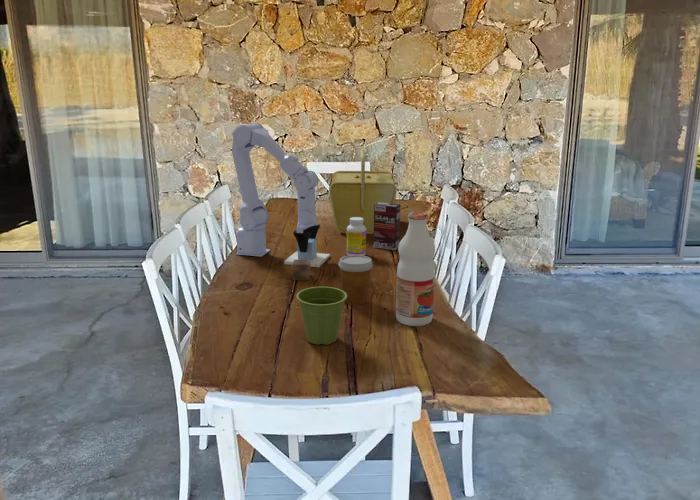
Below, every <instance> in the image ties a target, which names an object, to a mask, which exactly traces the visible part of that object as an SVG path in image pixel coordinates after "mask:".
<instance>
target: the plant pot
mask: <svg viewBox="0 0 700 500" xmlns="http://www.w3.org/2000/svg"><path fill="white" fill-rule="evenodd" d="M346 298H347V294H346V292H344V291H343V289H342V288H341V289H340V288H338V287H337V288H336V287H332V286H312V287H311V286H310V287H308V288H304V289H302V290H299V291H298V292H297V293H296V299H297V301H299V307H300V310H301V314H302V320H303V326H304V329H305V330H304V331H305V337H306V340H307V341H308V342H309V343H310V344H312V345H313V344H314V345H324V346H325V345H327V346H328V345H330V344H333V343H335V342H337V339H338V336H339V330H340V324H341V319H342V313H343V309H344V306H345V305H344V304H345V302H344V301H345V300H346Z"/></svg>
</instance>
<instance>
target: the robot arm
mask: <svg viewBox="0 0 700 500" xmlns="http://www.w3.org/2000/svg"><path fill="white" fill-rule="evenodd" d="M231 135H232V138H233V139H232V145H231V146H232V147H231V155H232V159H233V163H234V168H235V171H236V176H237V180H238V181H237V182H238V185H239V190H240V194H241V199H242V203H241V204H240V207H239V224H240V226H241V227H239V228H238V229H237V232H236V250H237V252H236V255H239V256H248V257H249V256H253V257H260V258H262V257H263V256H265V255H266V254H268V253H269V252H270V251H271V249H270V248H267V247H266V246H267V243H266V226H267V225H266V224H267V222H268V221H269V218H270V216H269V212H268V211H267V209H266V207H265V202H263V201H262V200H261V199H260V198H259V194H258V193H259V192H258V189H257V183H256V179H255V175H254V170H253V166H252V161H251V156H250V153H251V152H252V150H253V148H254V147H262V148H263V149H264V150H266V152H267V153H269V154H270V155H271V156H272V157H274V158H275V159H276V160H277V162H279V167H280V169H281V170H282V171H283V172H284V173H285V174H286V175H287V176H288V177H289V178H290V179H291V180H292V181H293V185H294V188H295V189H296V191H297V215H298V216H297V226H296V230H294V231H293V236H294V238H295V239H296V243H297V242H298V243H297V247H298V246H299V250H300V252H305V253H306V252H307V248H308V240H309V238H312V239H317V234H318V232H319V229H320V228H321V225H320V222H319V221H317V220H318V219H317V217H316V187H317V186H318V184H319V177H318V175H317V174H316V172H315V171H313V170H309V169H308V167H305V166H304V165H303V163H301V162H300V161H299V158H298V156H296V155H293V154H287V153H286V152H285V151H284V150H283V148H282V147H281V146H280V145H279V144H278V143H277V142H276V141H275V139H274V138H273V137H272V136H271V135H270V134H269V131H268V129H266V128H265V127H264V126H263V124H261V123H259V122H253V123H248V124H239V125H237V126H236V127H235V129H234V130H233V132H232V133H231Z"/></svg>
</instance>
